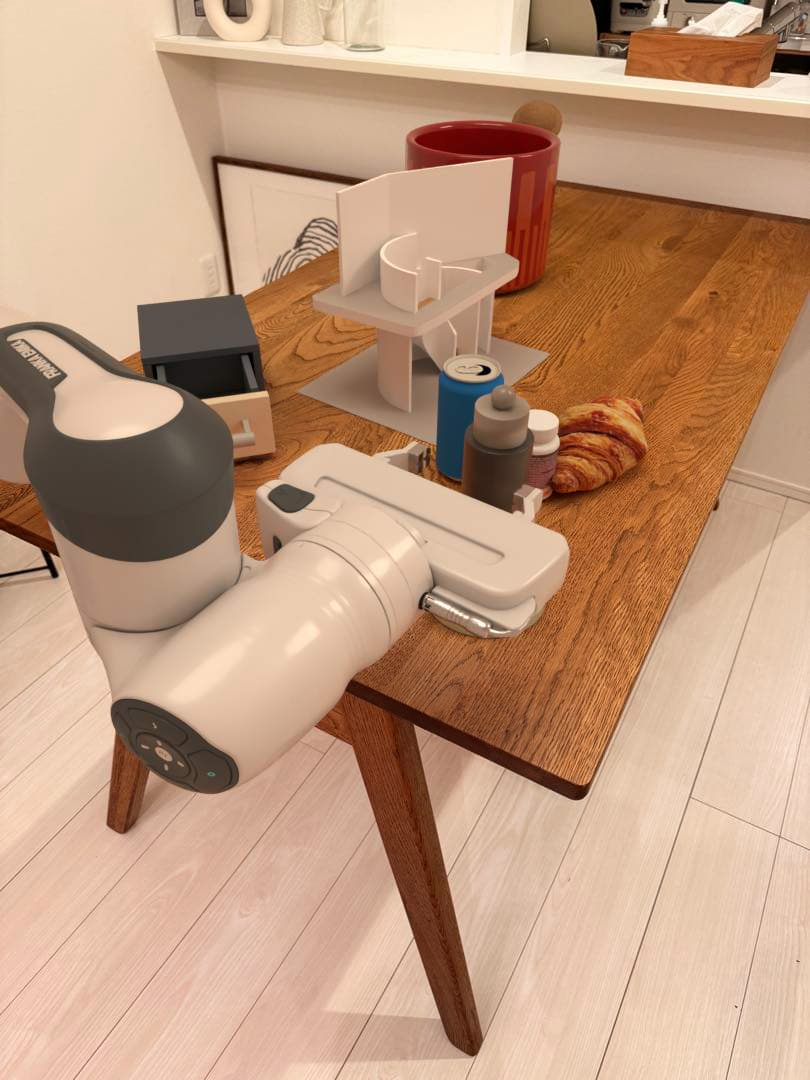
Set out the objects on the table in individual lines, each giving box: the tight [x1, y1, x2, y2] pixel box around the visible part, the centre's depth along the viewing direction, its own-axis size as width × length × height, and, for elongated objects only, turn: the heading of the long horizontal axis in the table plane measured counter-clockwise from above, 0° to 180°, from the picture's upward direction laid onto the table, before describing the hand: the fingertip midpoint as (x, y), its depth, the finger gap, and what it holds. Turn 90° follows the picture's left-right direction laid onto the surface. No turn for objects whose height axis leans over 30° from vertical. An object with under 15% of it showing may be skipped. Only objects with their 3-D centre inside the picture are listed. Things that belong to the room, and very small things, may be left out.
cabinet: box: [136, 293, 266, 392], centre depth 92 cm, size 15×13×9 cm
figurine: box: [511, 99, 563, 136], centre depth 141 cm, size 9×7×20 cm
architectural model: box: [295, 157, 552, 447], centre depth 91 cm, size 28×21×23 cm
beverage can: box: [435, 354, 504, 483], centre depth 78 cm, size 6×6×12 cm
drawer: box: [156, 353, 277, 460], centre depth 83 cm, size 18×12×7 cm, turn 17°
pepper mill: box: [460, 385, 534, 513], centre depth 61 cm, size 5×5×19 cm
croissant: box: [549, 395, 649, 494], centre depth 82 cm, size 21×10×8 cm, turn 147°
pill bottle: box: [528, 409, 560, 501], centre depth 76 cm, size 5×5×8 cm
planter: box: [404, 119, 562, 296], centre depth 119 cm, size 23×23×20 cm
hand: (476, 472), depth 56 cm, fingers open, 8 cm apart
